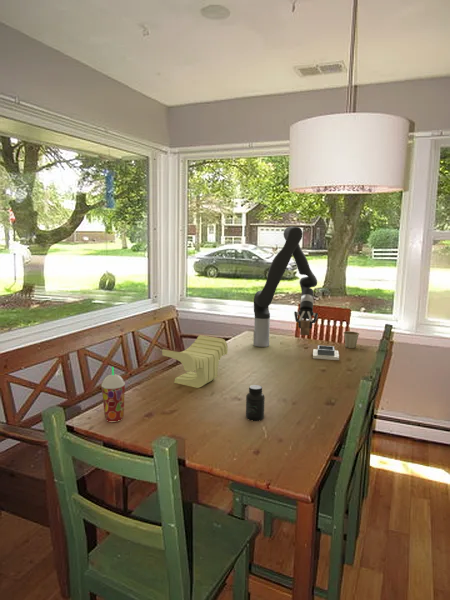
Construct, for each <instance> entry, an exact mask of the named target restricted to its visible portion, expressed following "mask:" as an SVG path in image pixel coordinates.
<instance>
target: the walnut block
mask: <svg viewBox="0 0 450 600" xmlns="http://www.w3.org/2000/svg"><path fill="white" fill-rule="evenodd" d="M309 326H310V320H309V319H303V320H301V328H299V329H300V331H299V332H300V333H299V336H310V329H309Z"/></svg>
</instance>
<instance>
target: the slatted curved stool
mask: <svg viewBox="0 0 450 600" xmlns="http://www.w3.org/2000/svg"><path fill="white" fill-rule="evenodd" d="M228 349H229V348H228V343H227V341H226V340H225V339H224V338H222V337H221V338H220V337H215V336H214V337H213V336H208V335H207V336H206V335H203V334H202V335H201V334H199V335H198V336H197V337H196V339H195V340H194V341H193V342H192V344H191V345H190V346H189V347H187V348H186V349H185V350H183V351H175V350H168V349H162V351H161V352H162V356H163V357H167V358H170V359H174V360H176V361H178V362H179V363H181V364H182V366H183V369H184V371H186V372H185V373H183V374H181V375H179V376H176V377H175V379H174V382H173V383H174V384H179V385H183V386H188V387H192V388H195V389H196V388H197V389H199V388H201V387H203V386H205V385H207V384H208V383H210V382H211V381H214V380H215V379H217V376H218V370H219V362H220V360H221V359H222V357H223V356H225V355H229V354H228V351H229V350H228Z"/></svg>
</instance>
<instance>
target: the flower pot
mask: <svg viewBox="0 0 450 600" xmlns="http://www.w3.org/2000/svg"><path fill="white" fill-rule="evenodd" d="M342 333H343V336H344V346H345V348H349V349H355V348H357V343H358V339H359V335H360V332H358V331H350V330H349V331H348V330H347V331H343V332H342Z"/></svg>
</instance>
